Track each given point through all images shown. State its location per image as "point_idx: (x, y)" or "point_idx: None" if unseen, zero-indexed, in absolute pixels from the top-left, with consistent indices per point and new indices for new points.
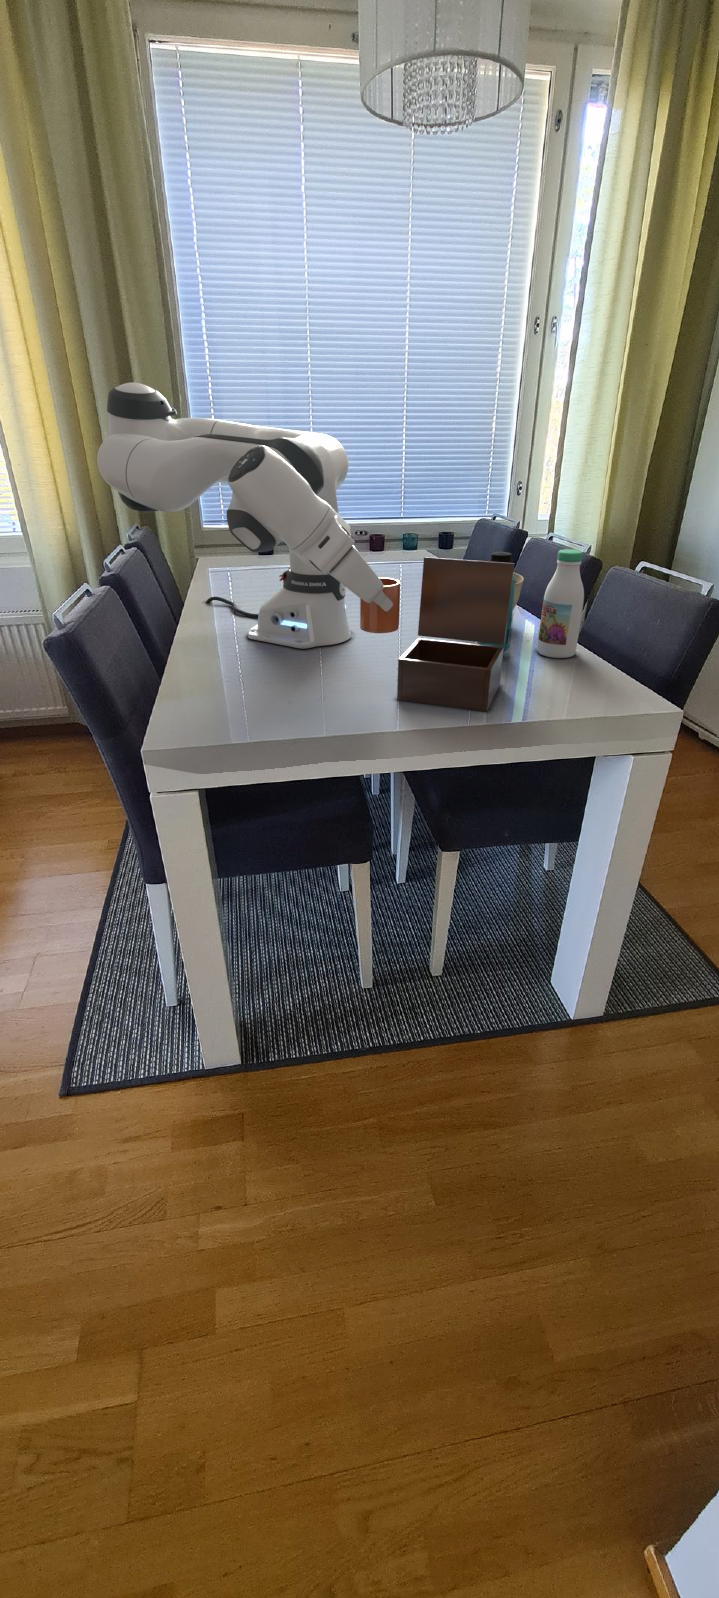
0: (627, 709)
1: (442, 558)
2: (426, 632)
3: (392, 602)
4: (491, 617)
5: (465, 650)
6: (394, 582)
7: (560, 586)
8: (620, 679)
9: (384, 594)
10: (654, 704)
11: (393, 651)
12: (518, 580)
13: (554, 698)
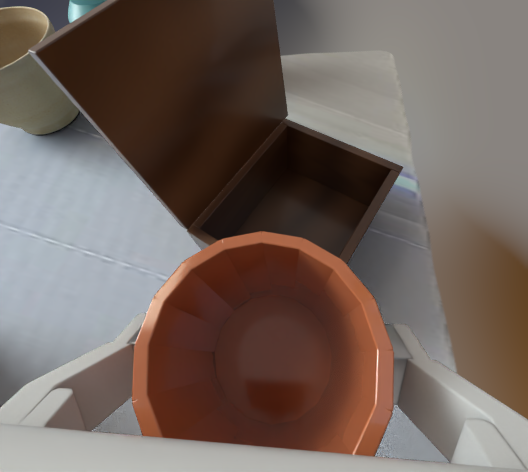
0: (383, 77)
1: (97, 11)
2: (196, 211)
3: (407, 326)
4: (266, 88)
5: (255, 171)
6: (235, 253)
7: None
8: (295, 56)
9: (468, 383)
10: (371, 55)
11: (81, 261)
12: (20, 17)
13: (340, 124)
